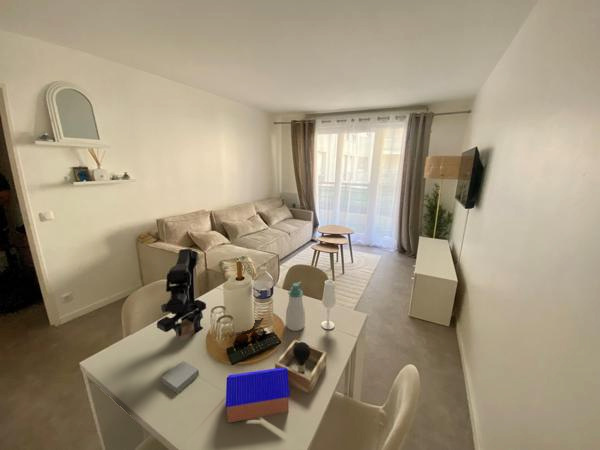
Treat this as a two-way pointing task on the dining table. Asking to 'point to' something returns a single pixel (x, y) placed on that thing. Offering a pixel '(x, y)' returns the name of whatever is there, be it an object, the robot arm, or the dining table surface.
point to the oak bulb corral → (299, 378)
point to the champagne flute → (328, 301)
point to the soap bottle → (295, 309)
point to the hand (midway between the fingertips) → (185, 332)
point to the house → (257, 394)
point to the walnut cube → (186, 329)
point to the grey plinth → (180, 376)
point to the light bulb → (301, 354)
